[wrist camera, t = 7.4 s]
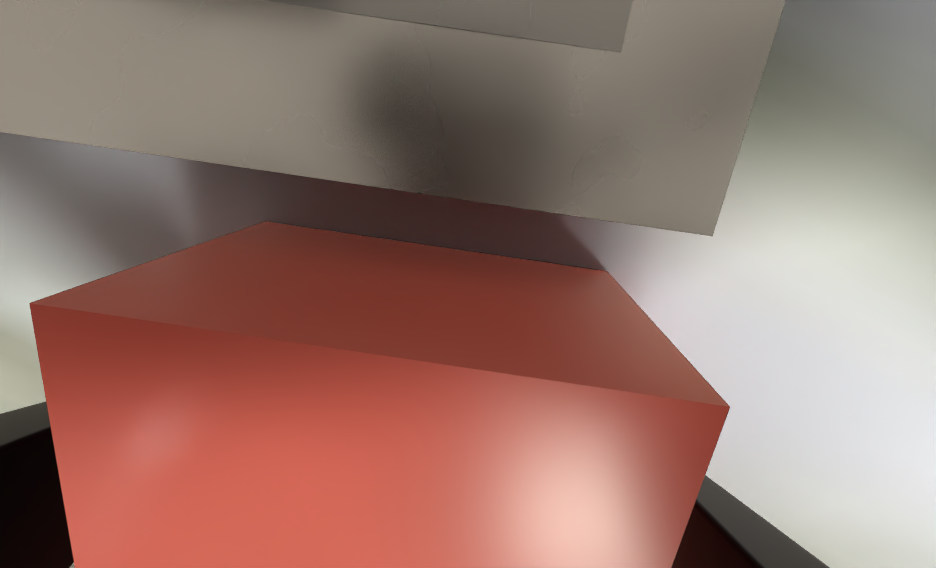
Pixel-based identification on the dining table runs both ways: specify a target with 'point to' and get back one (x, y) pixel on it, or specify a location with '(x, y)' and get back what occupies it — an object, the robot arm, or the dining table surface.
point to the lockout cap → (368, 410)
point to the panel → (411, 93)
